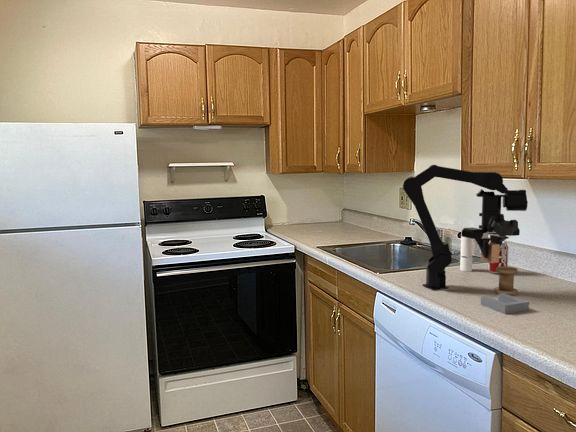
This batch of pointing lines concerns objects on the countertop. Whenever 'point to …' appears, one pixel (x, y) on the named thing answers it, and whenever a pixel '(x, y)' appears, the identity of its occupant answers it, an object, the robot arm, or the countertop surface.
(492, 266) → the soda can
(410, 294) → the countertop surface
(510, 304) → the grey u-shaped frame
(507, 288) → the knob
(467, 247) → the tube
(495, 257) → the orange tan block
